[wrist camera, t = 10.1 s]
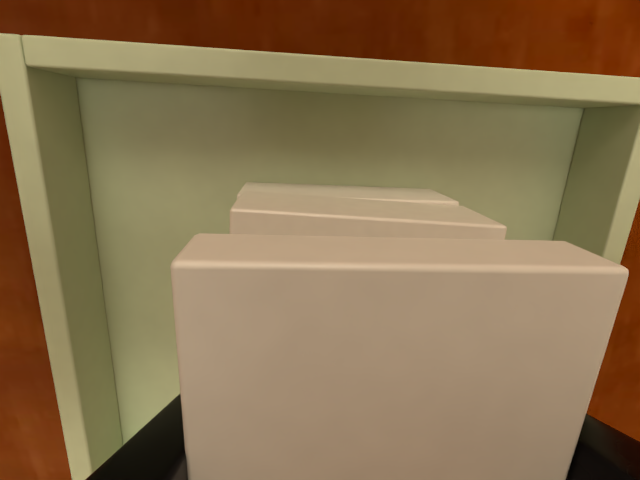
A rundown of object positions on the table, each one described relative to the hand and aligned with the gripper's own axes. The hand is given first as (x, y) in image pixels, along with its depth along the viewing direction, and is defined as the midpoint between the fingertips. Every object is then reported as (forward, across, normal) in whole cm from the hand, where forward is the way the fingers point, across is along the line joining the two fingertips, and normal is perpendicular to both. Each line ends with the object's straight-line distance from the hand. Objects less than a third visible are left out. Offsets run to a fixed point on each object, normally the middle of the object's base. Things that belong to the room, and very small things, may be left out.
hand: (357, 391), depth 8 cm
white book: (-1, 0, 0) cm, 1 cm away
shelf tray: (+5, 0, 0) cm, 5 cm away
